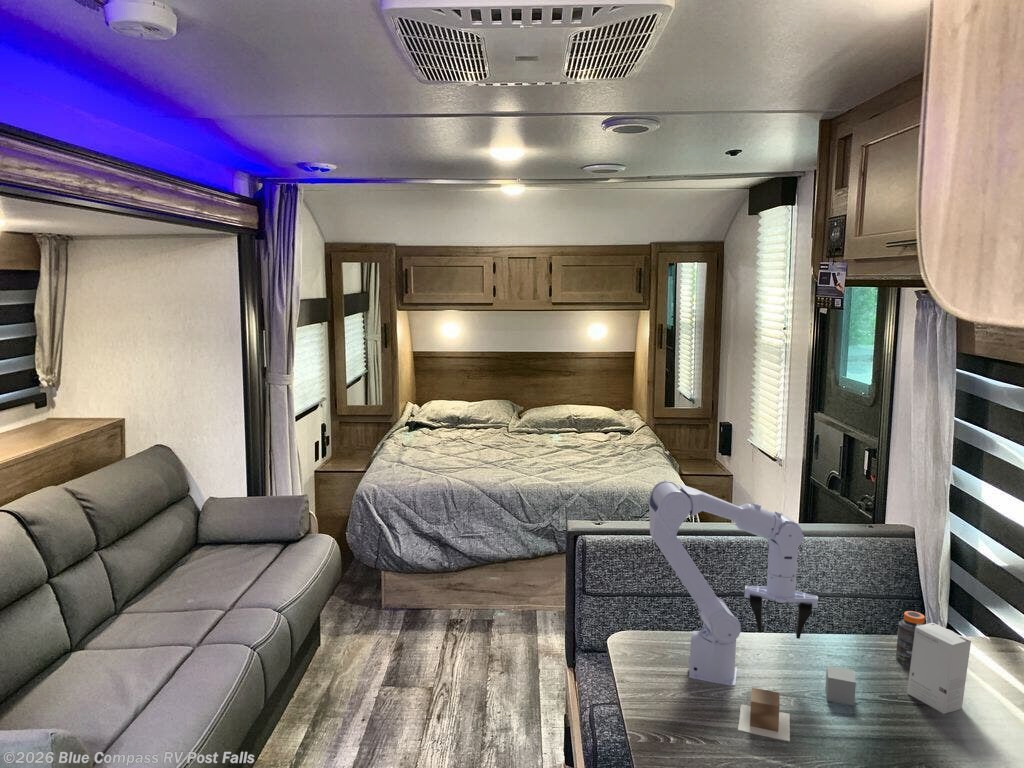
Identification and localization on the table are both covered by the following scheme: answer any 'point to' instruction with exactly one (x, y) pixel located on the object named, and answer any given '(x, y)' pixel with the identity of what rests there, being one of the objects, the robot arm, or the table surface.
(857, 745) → the table surface
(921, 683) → the skincare box
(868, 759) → the table surface
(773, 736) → the white square plate
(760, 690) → the walnut block
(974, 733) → the table surface
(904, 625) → the pill bottle
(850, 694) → the slate block
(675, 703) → the table surface
